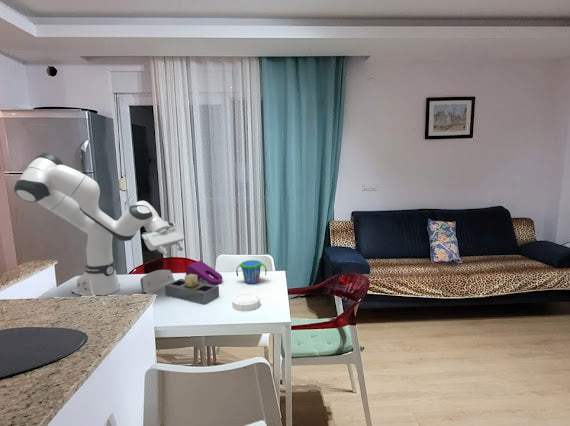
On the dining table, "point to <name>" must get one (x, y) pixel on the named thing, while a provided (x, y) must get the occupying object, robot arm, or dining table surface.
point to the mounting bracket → (204, 273)
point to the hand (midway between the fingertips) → (174, 252)
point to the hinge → (156, 281)
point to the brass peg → (191, 281)
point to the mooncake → (246, 302)
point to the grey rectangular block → (192, 291)
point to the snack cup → (251, 271)
